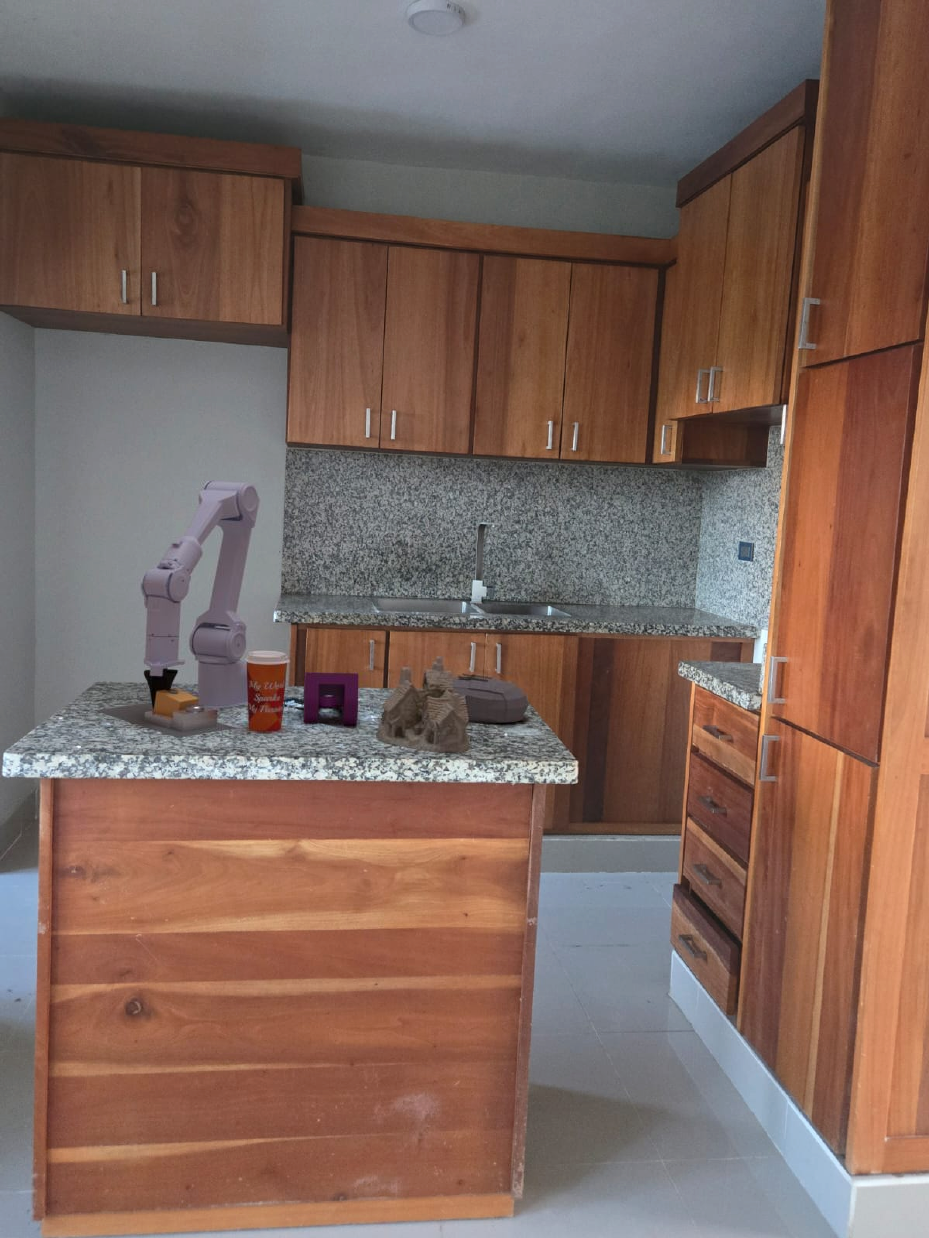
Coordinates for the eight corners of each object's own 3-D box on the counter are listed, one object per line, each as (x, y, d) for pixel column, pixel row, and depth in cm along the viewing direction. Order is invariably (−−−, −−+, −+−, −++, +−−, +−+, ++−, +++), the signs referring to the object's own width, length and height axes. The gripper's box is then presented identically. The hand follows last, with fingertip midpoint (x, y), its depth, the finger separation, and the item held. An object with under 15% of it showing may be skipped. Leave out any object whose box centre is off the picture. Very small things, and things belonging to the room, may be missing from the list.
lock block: (172, 710, 183) (176, 686, 182) (195, 721, 180) (199, 696, 179) (153, 714, 179) (156, 689, 178) (176, 725, 176) (180, 700, 175)
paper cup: (244, 736, 173) (246, 656, 172) (241, 726, 181) (243, 649, 179) (289, 735, 175) (292, 657, 174) (285, 726, 183) (287, 650, 181)
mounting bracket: (302, 740, 198) (304, 718, 181) (303, 697, 201) (305, 672, 184) (351, 740, 200) (358, 719, 183) (351, 698, 203) (358, 673, 185)
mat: (151, 705, 194) (151, 702, 194) (236, 731, 177) (236, 727, 177) (94, 713, 185) (94, 710, 185) (177, 740, 168) (177, 737, 168)
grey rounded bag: (419, 718, 196) (518, 730, 190) (421, 676, 195) (521, 686, 189) (442, 705, 210) (535, 715, 205) (444, 666, 209) (537, 675, 204)
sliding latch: (183, 715, 185) (184, 694, 184) (219, 725, 178) (220, 704, 177) (144, 720, 179) (145, 699, 178) (180, 732, 171) (180, 710, 171)
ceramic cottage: (374, 729, 183) (381, 649, 181) (463, 734, 185) (471, 656, 183) (377, 756, 168) (384, 669, 165) (473, 761, 170) (482, 676, 167)
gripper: (181, 641, 173) (177, 718, 174) (189, 631, 188) (186, 703, 189) (139, 638, 172) (135, 716, 173) (150, 629, 186) (147, 701, 187)
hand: (159, 709), depth 181 cm, fingers closed, pressing on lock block
